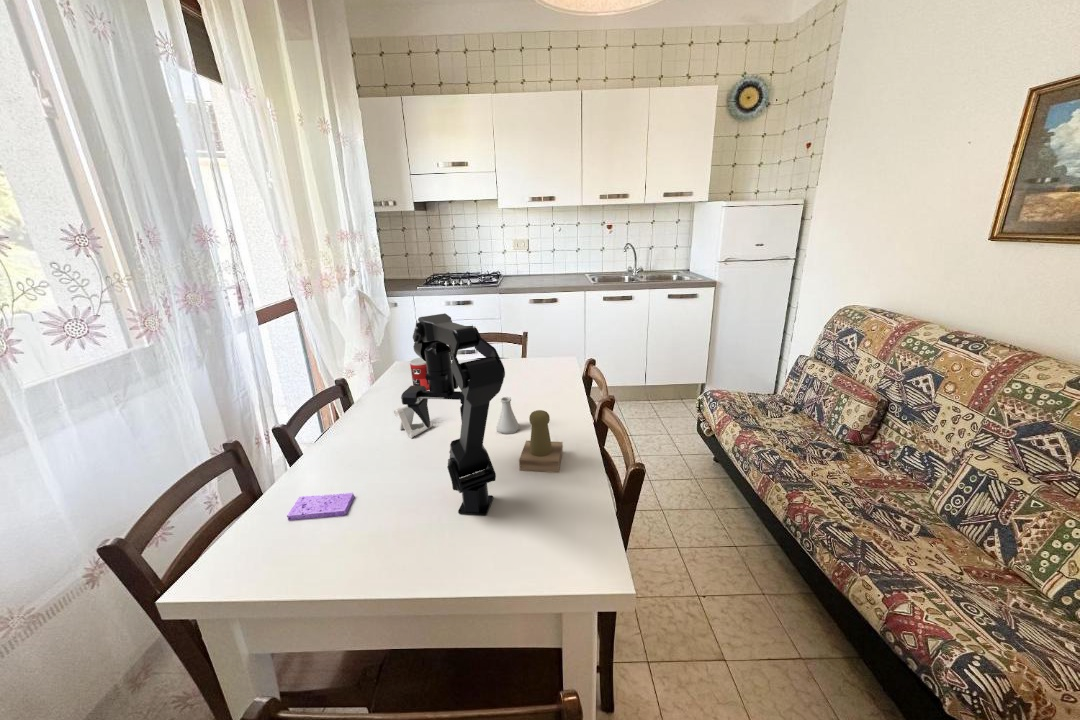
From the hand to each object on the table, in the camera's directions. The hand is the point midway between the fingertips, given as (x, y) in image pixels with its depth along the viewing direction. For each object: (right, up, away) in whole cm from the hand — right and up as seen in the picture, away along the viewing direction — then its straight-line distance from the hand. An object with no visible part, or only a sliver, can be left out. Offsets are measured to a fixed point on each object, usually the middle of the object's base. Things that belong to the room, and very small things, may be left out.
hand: (446, 427), depth 107 cm
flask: (+13, -5, +26) cm, 30 cm away
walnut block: (+23, -10, +8) cm, 27 cm away
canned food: (-22, +6, +61) cm, 65 cm away
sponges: (-27, -18, -7) cm, 33 cm away
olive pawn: (+23, -7, +7) cm, 25 cm away
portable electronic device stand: (-16, -5, +28) cm, 33 cm away
